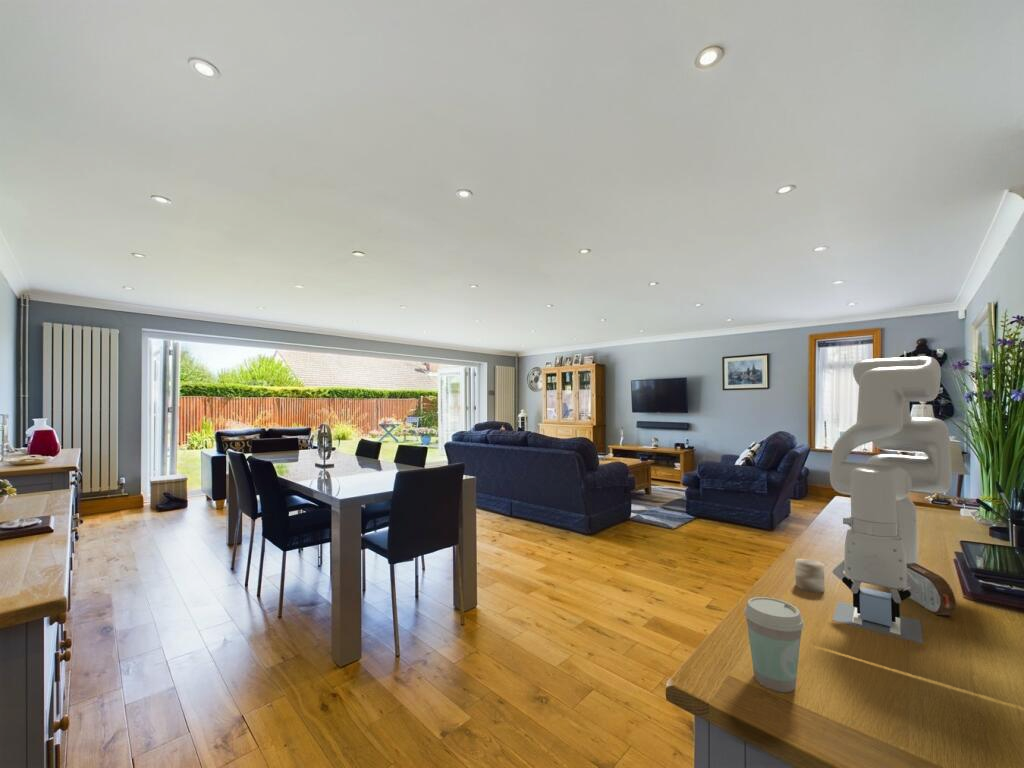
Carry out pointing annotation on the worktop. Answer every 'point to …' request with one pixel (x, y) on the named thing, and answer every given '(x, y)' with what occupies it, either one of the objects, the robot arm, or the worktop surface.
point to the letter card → (900, 629)
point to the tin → (932, 591)
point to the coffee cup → (774, 641)
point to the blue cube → (875, 606)
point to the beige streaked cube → (809, 575)
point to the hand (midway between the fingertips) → (876, 614)
